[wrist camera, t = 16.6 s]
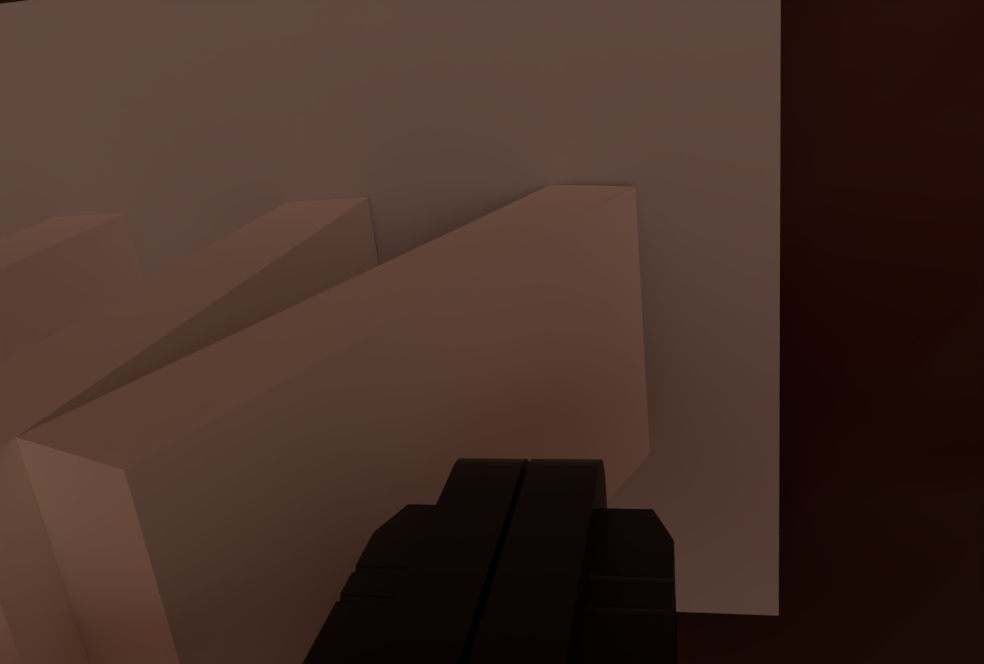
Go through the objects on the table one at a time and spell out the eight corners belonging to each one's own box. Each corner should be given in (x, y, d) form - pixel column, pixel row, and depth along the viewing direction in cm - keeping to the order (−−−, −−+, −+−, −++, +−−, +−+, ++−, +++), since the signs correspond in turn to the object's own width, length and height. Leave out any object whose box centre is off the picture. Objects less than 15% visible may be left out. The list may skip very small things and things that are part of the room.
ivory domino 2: (406, 440, 18) (107, 900, 9) (333, 439, 19) (-22, 880, 10) (368, 197, 17) (-46, 478, 8) (287, 201, 17) (-195, 473, 8)
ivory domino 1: (649, 453, 17) (247, 903, 9) (573, 438, 18) (148, 839, 10) (635, 186, 15) (123, 470, 7) (550, 184, 16) (16, 437, 8)
